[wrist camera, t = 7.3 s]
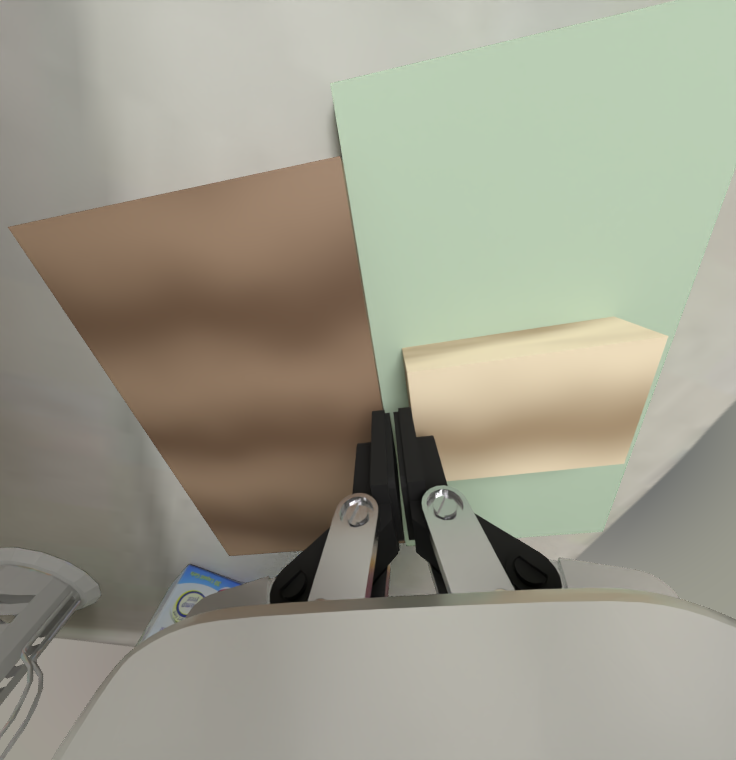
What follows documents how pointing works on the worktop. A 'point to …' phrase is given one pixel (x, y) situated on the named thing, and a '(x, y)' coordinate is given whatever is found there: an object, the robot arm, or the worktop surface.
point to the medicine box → (185, 597)
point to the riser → (231, 340)
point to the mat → (541, 204)
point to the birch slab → (533, 396)
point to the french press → (35, 615)
